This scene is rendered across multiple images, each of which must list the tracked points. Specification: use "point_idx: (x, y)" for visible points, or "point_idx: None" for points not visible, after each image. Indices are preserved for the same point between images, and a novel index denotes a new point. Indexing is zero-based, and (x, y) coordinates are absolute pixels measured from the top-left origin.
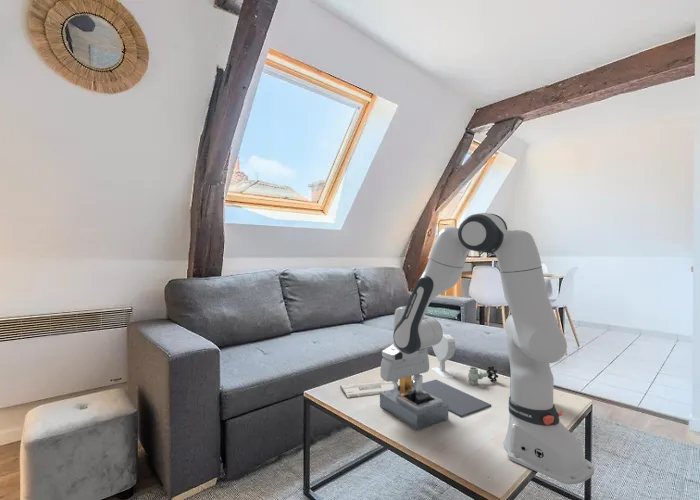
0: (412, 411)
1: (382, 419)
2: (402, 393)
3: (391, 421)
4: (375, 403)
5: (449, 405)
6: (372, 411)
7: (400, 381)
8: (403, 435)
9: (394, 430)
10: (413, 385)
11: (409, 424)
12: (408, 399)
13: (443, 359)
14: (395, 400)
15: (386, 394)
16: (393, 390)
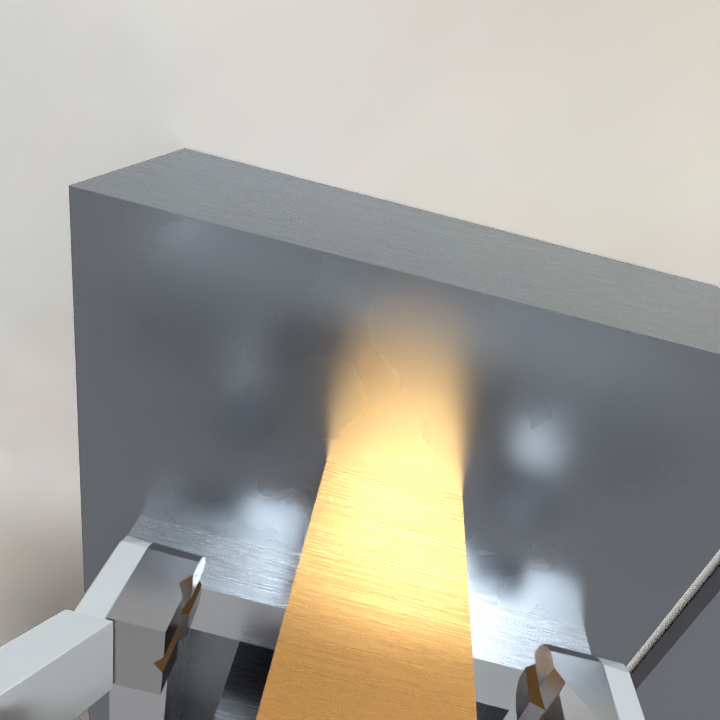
0: (102, 717)
1: (21, 373)
2: (236, 596)
3: (76, 448)
4: (192, 26)
5: (717, 681)
6: (16, 177)
7: (264, 692)
8: (33, 593)
9: (13, 529)
10: (523, 704)
11: None
12: (165, 700)
13: None
14: (111, 523)
15: (127, 328)
16: (358, 318)
